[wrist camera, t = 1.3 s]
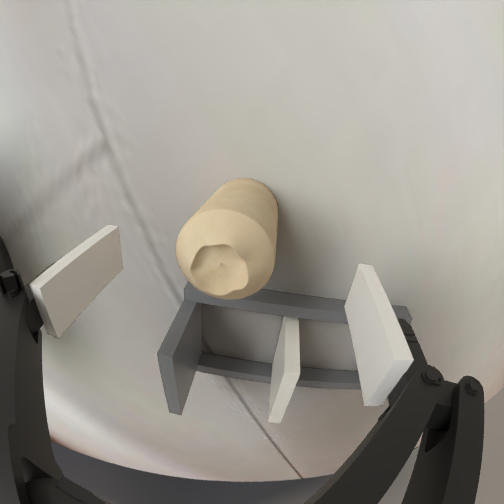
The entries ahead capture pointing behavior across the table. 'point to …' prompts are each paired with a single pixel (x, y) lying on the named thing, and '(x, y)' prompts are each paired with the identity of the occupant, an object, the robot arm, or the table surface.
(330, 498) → the robot arm
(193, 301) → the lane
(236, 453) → the table surface
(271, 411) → the plate
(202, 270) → the candle
